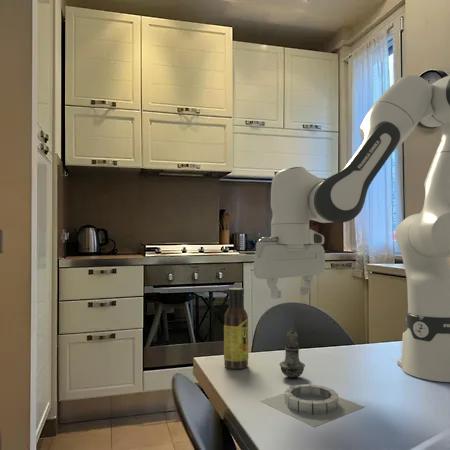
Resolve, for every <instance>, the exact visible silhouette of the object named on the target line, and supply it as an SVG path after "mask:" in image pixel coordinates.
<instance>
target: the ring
mask: <svg viewBox="0 0 450 450" xmlns="http://www.w3.org/2000/svg"><path fill="white" fill-rule="evenodd" d="M284 393H285V404H286V405H287V407H288V408H289V409H292V410H294V411H296V412H299V413H304V414H310V415H312V414H313V415H323V414H329V413H332V412H334V411H336V410H337V408H338V406H339V399H338V397H339V394H338V392H337V391H335V390H334V389H333V388H329V387H326V386H324V385H319V384H318V385H317V384H313V383H312V384H308V383H307V384H306V383H305V384H304V383H303V384H296V385H292V386H289V387H287V388H286V390H285V391H284ZM305 396H312V397H319V398H322V399H325V400H323V401H308V400H302V399H299V398H298V397H305Z"/></svg>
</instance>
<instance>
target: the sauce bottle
mask: <svg viewBox="0 0 450 450" xmlns="http://www.w3.org/2000/svg"><path fill="white" fill-rule="evenodd" d="M244 294H245V291H244V288H243V287H229V288H228V289H227V295H228V307H227V309H226V310H225V313H224V318H223V319H224V320H223V321H224V322H223V323H224V324H223V359H224V361H223V362H224V366H225V368H227V369H233V370H234V369H235V370H239V369H244V368H246V367H247V366H248V365H249V317H248V313H247V311H246V309H245V307H244Z"/></svg>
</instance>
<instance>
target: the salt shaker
mask: <svg viewBox="0 0 450 450" xmlns="http://www.w3.org/2000/svg"><path fill="white" fill-rule="evenodd" d="M283 348H284V350H285V353H284V354H285V356H284V357H285V359H284V360H283V361H280V362H279V366H280V371H281V372H282V374H283V375H284V376H286V378H287V379H289V380H297V379H298V377H300V376H301V375H303V372H304V370H305V369H304V368H305V367H306V364H305V363H303V362H301V361H300V355H299V352H300V349H301V347H300V346H299V334H298V333H297V332H296V331H294V329H293V327H291V328H290V331H288V332H286V334H285V346H284V347H283Z"/></svg>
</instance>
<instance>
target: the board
mask: <svg viewBox="0 0 450 450" xmlns="http://www.w3.org/2000/svg"><path fill="white" fill-rule="evenodd" d="M298 398H299V399H302V400H308V401H323V400H325V399H322V398H319V397H312V396H305V397H298ZM338 399H339V406H338V408H337V410H336V411H334V412H332V413H329V414H323V415H313V414H312V415H310V414H304V413H299V412H296V411H294V410H292V409H289V408H288V407H287V405H286V404H285V392H284V393H281V394H278V395H275V396H272V397H269V398H265V399H262V400H260V403H263V404H266V405H267V406H269V407H270V408H271V407H272V408H274V409H275V410H278V411H279V412H282V413H283V414H286V415H288V416H290V417H292V418H294V419H296V420H299V421H300V422H303V423H305V424H307V425H308V426H311V427H313V428H316V427H319V426H322V425H324V424H326V423H329V422H331V421H333V420H336V419H338V418H342V417H344V416H345V415H349V414H351V413H354V412H356V411H359V410H362V409H363V408H365V406H364V405H361V404H358V403H357V402H352V401H351V400H348V399H344V398H342V397H340V396H338Z"/></svg>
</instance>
